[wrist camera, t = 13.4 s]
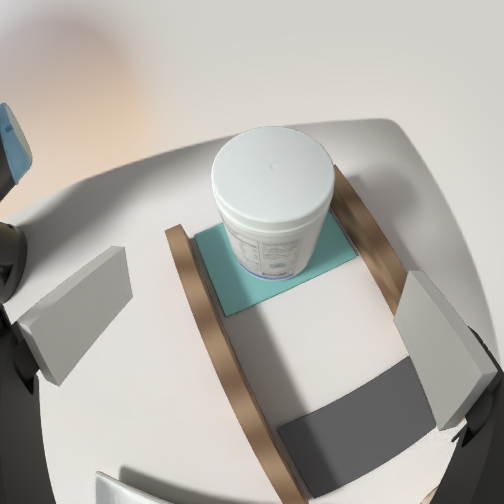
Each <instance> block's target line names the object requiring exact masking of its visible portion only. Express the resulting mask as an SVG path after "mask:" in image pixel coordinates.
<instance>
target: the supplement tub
mask: <svg viewBox="0 0 504 504" xmlns="http://www.w3.org/2000/svg"><path fill="white" fill-rule="evenodd" d="M211 179H212V184H213V192H214V196H215V200H216V203H217V206H218V209H219V212H220V215H221V218H222V221H223V224H224V227H225V229H226V232H227V235H228V238H229V241H230V244H231V246H232V249H233V252H234V255H235V257H236V259H237V261H238V263H239V264H240V266H241V267H242V268H243V269H244V270H245V271H246V272H247V273H249V274H250V275H252V276H253V277H256V278H258V279H261V280H264V281H282V280H286V279H289V278H291V277H293V276H295V275H297V274H298V273H300V272H301V271H302V270H303V269H304V268H305V267H306V265H307V264H308V262H309V260H310V258H311V256H312V254H313V251H314V249H315V246H316V243H317V240H318V237H319V234H320V232H321V229H322V226H323V223H324V220H325V217H326V215H327V212H328V208H329V205H330V202H331V199H332V195H333V190H334V182H335V170H334V165H333V162H332V160H331V158H330V156H329V154H328V152H327V151H326V150H325V149H324V147H323V146H322V145H321V144H320V143H318V142H317V141H316V140H315V139H313V138H312V137H310V136H308V135H307V134H305V133H302V132H300V131H297V130H294V129H290V128H285V127H276V126H270V127H260V128H255V129H251V130H249V131H245V132H243V133H241V134H239V135H237V136H235V137H234V138H232V139H231V140H230V141H228V142H227V143H226V144H225V145H224V146H223V147H222V148H221V150H220V151H219V152H218V154H217V155H216V157H215V160H214V162H213V165H212V172H211Z"/></svg>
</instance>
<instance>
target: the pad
mask: <svg viewBox="0 0 504 504" xmlns="http://www.w3.org/2000/svg"><path fill="white" fill-rule="evenodd" d="M194 237H195V239H196V242H197V245H198V247H199V250H200V253H201V255H202V258H203V260H204V263H205V266H206V268H207V271H208V273H209V276H210V278H211V281H212V283H213V286H214V288H215V291H216V293H217V296H218V298H219V301H220V303H221V305H222V308H223V310H224V313H225V315H226V317H227V316H229V315H232V314H234V313H236V312H239V311H241V310H243V309H246V308H248V307H250V306H253V305H255V304H257V303H259V302H262V301H264V300H266V299H269V298H271V297H273V296H275V295H277V294H280V293H282V292H284V291H286V290H288V289H291V288H293V287H295V286H297V285H299V284H301V283H304V282H306V281H308V280H310V279H312V278H314V277H316V276H318V275H321V274H323V273H325V272H327V271H329V270H331V269H333V268H335V267H337V266H339V265H341V264H343V263H345V262H347V261H349V260H351V259H353V258H355V257H356V256H357V255H356V254H355V252H354V250H353V249H352V247H351V245H350V244H349V242H348V240H347V239H346V237H345V235H344V234H343V232H342V230H341V229H340V227H339V226H338V224H337V222H336V221H335V219H334V218H333V216H332V214H331V213H330V211H329V210H328V212H327V215H326V217H325V220H324V223H323V226H322V229H321V232H320V234H319V237H318V240H317V243H316V246H315V249H314V251H313V254H312V256H311V258H310V260H309V262H308V264H307V265H306V267H305V268H304V269H303V270H302V271H301V272H300V273H298V274H297V275H295V276H293V277H291V278H289V279H286V280H282V281H264V280H261V279H258V278H256V277H253V276H252V275H250V274H249V273H247V272H246V271H245V270H244V269H243V268H242V267H241V266H240V264H239V263H238V261H237V259H236V257H235V255H234V252H233V249H232V246H231V244H230V241H229V238H228V235H227V232H226V229H225V227H224V224H223V223H221V224H219V225H217V226H214V227H212V228H209V229H207V230H205V231H202V232H200V233H198V234H195V235H194Z"/></svg>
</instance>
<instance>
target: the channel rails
mask: <svg viewBox="0 0 504 504" xmlns="http://www.w3.org/2000/svg"><path fill="white" fill-rule="evenodd" d="M334 170H335V182H334V190H333V195H332V199H331V202H330V206H331V208H332V209H333V211H334V212H335V214H336V215H337V217H338V218H339V220H340V222H341V223H342V225H343V226H344V228H345V230H346V231H347V233H348V234H349V236H350V238H351V239H352V241H353V243H354V244H355V246H356V248H357V249H358V251H359V253H360V254H361V256H362V258H363V260H364V261H365V263H366V265H367V267H368V268H369V270H370V272H371V274H372V276H373V277H374V279H375V281H376V283H377V285H378V286H379V288H380V290H381V292H382V294H383V296H384V298H385V300H386V302H387V303H388V305H389V307H390V309H391V311H392V313H393V315H394V317H395V314H396V311H397V308H398V305H399V302H400V299H401V296H402V292H403V289H404V286H405V282H406V279H407V275H408V274H407V273H406V271H405V269H404V267H403V266H402V264H401V262H400V260H399V259H398V257H397V255H396V253H395V252H394V250H393V248H392V247H391V245H390V244H389V242H388V240H387V239H386V237H385V235H384V234H383V232H382V231H381V229H380V228H379V226H378V224H377V223H376V221H375V220H374V218H373V217H372V215H371V214H370V212H369V211H368V209H367V208H366V206H365V205H364V203H363V202H362V200H361V199H360V198H359V196H358V195H357V193H356V192H355V191H354V189H353V188H352V186H351V185H350V184H349V182H348V181H347V180H346V178H345V177H344V175H343V174H342V173H341V171H340V170H339V169H338V168H337V166H336V165H334ZM165 233H166V237H167V240H168V243H169V246H170V250H171V253H172V256H173V259H174V262H175V265H176V268H177V271H178V274H179V277H180V280H181V283H182V285H183V288H184V291H185V294H186V297H187V300H188V302H189V305H190V308H191V310H192V313H193V316H194V318H195V321H196V324H197V326H198V329H199V331H200V334H201V337H202V339H203V342H204V344H205V347H206V349H207V351H208V354H209V356H210V359H211V361H212V364H213V366H214V368H215V371H216V373H217V375H218V378H219V380H220V382H221V384H222V387H223V389H224V391H225V393H226V396H227V398H228V400H229V402H230V404H231V406H232V409H233V411H234V413H235V415H236V417H237V419H238V421H239V423H240V425H241V427H242V429H243V431H244V433H245V435H246V437H247V439H248V441H249V443H250V445H251V447H252V449H253V451H254V453H255V455H256V457H257V459H258V460H259V462H260V464H261V466H262V468H263V470H264V471H265V473H266V475H267V477H268V479H269V480H270V482H271V484H272V486H273V487H274V489H275V491H276V493H277V494H278V496H279V498H280V499H281V501H282V503H283V504H309V502H308V499H307V498H306V496H305V494H304V492H303V490H302V489H301V487H300V485H299V483H298V481H297V480H296V478H295V476H294V474H293V472H292V470H291V469H290V467H289V465H288V463H287V461H286V459H285V457H284V455H283V454H282V452H281V450H280V448H279V446H278V444H277V442H276V440H275V438H274V436H273V434H272V432H271V430H270V428H269V426H268V424H267V422H266V420H265V418H264V416H263V414H262V412H261V409H260V407H259V405H258V403H257V401H256V399H255V397H254V395H253V393H252V390H251V388H250V386H249V384H248V382H247V380H246V377H245V375H244V373H243V371H242V368H241V366H240V364H239V362H238V359H237V357H236V355H235V353H234V350H233V348H232V346H231V343H230V341H229V339H228V336H227V334H226V332H225V329H224V327H223V324H222V322H221V320H220V317H219V315H218V312H217V310H216V307H215V305H214V302H213V300H212V297H211V295H210V292H209V290H208V287H207V285H206V282H205V280H204V277H203V274H202V272H201V269H200V266H199V264H198V261H197V258H196V256H195V253H194V250H193V248H192V245H191V242H190V239H189V238H188V236H187V234H186V232H185V231H184V229H183V227H182V226H181V224H179V225H177V226H174V227H172V228H170V229H168V230H165ZM464 419H465V416H464V418H463V419H462V420H461V421H460V422H459V423H461V422H462V421H463V420H464ZM459 423H458V424H459Z"/></svg>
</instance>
